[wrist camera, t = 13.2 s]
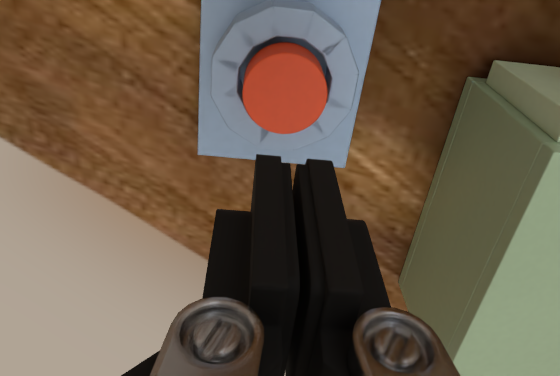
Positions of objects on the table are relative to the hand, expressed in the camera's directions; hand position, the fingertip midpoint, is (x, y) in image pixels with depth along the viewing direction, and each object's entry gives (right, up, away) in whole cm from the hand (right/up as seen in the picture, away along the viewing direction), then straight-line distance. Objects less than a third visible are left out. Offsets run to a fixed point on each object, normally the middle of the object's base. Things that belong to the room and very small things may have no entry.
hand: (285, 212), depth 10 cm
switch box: (0, +7, +13) cm, 15 cm away
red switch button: (0, +5, +10) cm, 12 cm away
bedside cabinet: (+15, 0, +18) cm, 23 cm away
